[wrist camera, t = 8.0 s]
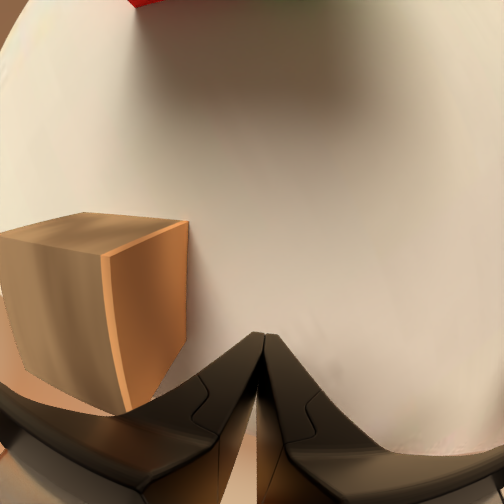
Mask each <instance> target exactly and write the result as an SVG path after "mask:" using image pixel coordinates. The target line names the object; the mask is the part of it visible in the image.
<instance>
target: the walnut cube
mask: <svg viewBox="0 0 504 504" xmlns="http://www.w3.org/2000/svg"><path fill="white" fill-rule="evenodd" d="M188 224H189V221H180V220H170V219H159V218H148V217H137V216H126V215H114V214H101V213H88V212H83V213H78V214H73V215H69V216H64V217H60V218H56V219H51V220H47V221H43V222H39V223H35V224H31V225H27V226H24V227H20V228H16V229H13V230H9V231H6V232H2V233H0V285H1V290H2V294H3V299H4V303H5V307H6V311H7V315H8V319H9V322H10V326H11V330H12V333H13V336H14V339H15V342H16V345H17V348H18V351H19V354H20V356H21V359H22V362H23V365H24V367H25V370H26V371H28V372H30V373H31V374H33V375H34V376H36V377H38V378H39V379H41V380H43V381H45V382H46V383H48V384H50V385H51V386H53V387H55V388H57V389H59V390H61V391H63V392H65V393H66V394H68V395H70V396H72V397H74V398H76V399H78V400H80V401H83V402H85V403H87V404H89V405H91V406H94V407H96V408H98V409H100V410H103V411H105V412H107V413H110V414H113V415H115V416H117V415H120V414H124V413H126V412H129V411H131V410H133V409H135V408H137V407H139V406H141V405H144V404H146V403H148V402H149V401H150V400H151V398H152V396H153V395H154V393H155V391H156V390H157V388H158V386H159V385H160V383H161V381H162V380H163V378H164V376H165V375H166V373H167V371H168V370H169V368H170V366H171V365H172V363H173V361H174V360H175V358H176V356H177V355H178V353H179V351H180V350H181V348H182V347H183V345H184V343H185V342H186V276H187V245H188Z"/></svg>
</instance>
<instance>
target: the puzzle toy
mask: <svg viewBox="0 0 504 504" xmlns="http://www.w3.org/2000/svg"><path fill="white" fill-rule="evenodd" d="M128 1H129V2H130V3H131V4H132V5H133V6H134V7H135V8H137V7H141V6H144V5H148V4H152V3H156V2H160V1H164V0H128Z"/></svg>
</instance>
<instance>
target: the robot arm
mask: <svg viewBox="0 0 504 504" xmlns="http://www.w3.org/2000/svg"><path fill="white" fill-rule="evenodd" d="M258 381H259V382H258ZM257 388H258V389H257ZM256 394H257V398H256ZM255 398H256V423H257V504H504V496H503V494H502V492H501V489H502V488H503V487H504V445H501V446H499V447H496V448H494V449H492V450H489V451H487V452H484V453H479V454H474V455H466V456H424V455H408V454H398V453H394V452H390V451H388V450H386V449H384V448H383V447H381V446H380V445H378V444H377V443H376V442H375V441H373V440H372V439H371V438H370V437H369V436H368V435H367V434H365V433H364V432H363V431H362V430H361V429H360V428H359V427H358V426H356V425H355V424H354V423H353V422H352V421H351V420H350V419H349V418H348V417H347V416H346V415H344V414H343V413H342V412H341V411H340V410H339V409H338V408H337V407H336V405H335V404H334V403H333V402H332V401H331V400H330V399H329V398H328V396H327V395H326V394H325V393H324V391H322V389H321V388H320V387H319V386H318V384H317V383H316V382H315V381H314V379H313V378H312V377H311V376H310V374H309V373H308V372H307V371H306V369H305V368H304V367H303V366H302V364H301V363H300V362H299V361H298V359H297V358H296V357H295V356H294V354H293V353H292V352H291V351H290V349H289V348H288V347H287V346H286V344H285V343H284V342H283V340H282V339H281V338H280V337H279V335H277V334H268V333H267V334H266V335H265V334H264V333H260V332H251V333H250V334H249V335H247V336H246V337H245V338H244V339H242V340H241V341H240V342H239V343H237V344H236V345H235V346H233V347H232V348H231V349H229V350H228V351H227V352H225V353H224V354H223V355H222V356H220V357H219V358H218V359H216V360H215V361H214V362H212V363H211V364H209V365H208V366H207V367H205V368H204V369H203V370H201V371H200V372H199V373H197V374H196V375H194V376H193V377H191V378H190V379H189V380H187V381H186V382H184V383H183V384H181V385H180V386H178V387H176V388H175V389H173V390H171V391H169V392H167V393H166V394H164V395H162V396H160V397H158V398H156V399H154V400H152V401H150V402H148V403H146V404H144V405H141V406H139V407H137V408H135V409H133V410H131V411H129V412H126V413H124V414H120V415H117V416H109V417H107V416H106V417H105V416H97V415H91V414H85V413H80V412H75V411H70V410H66V409H61V408H57V407H53V406H49V405H45V404H41V403H38V402H35V401H32V400H30V399H27V398H25V397H23V396H21V395H18V394H17V393H15V392H14V391H12V390H11V389H10V388H8V387H7V386H6V385H4V384H3V383H1V382H0V442H1V444H2V445H3V446H4V448H5V449H4V451H3V452H2V453H1V454H0V504H220V502H221V500H222V497H223V494H224V492H225V489H226V486H227V483H228V480H229V478H230V475H231V472H232V469H233V466H234V463H235V460H236V458H237V455H238V452H239V448H240V446H241V442H242V440H243V436H244V434H245V431H246V427H247V424H248V421H249V418H250V415H251V412H252V409H253V405H254V402H255Z"/></svg>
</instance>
